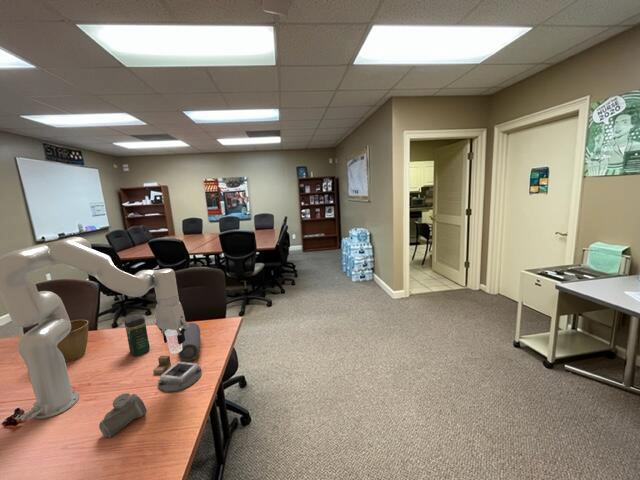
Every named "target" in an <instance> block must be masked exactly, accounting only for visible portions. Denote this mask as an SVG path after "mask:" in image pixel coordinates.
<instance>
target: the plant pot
mask: <svg viewBox="0 0 640 480" xmlns="http://www.w3.org/2000/svg"><path fill="white" fill-rule="evenodd" d="M70 322H71V331H70V333H69V334H68V335H67V336H66V337H65V338H64V339H63V340H62V341H60V342H59V343H58V344H57V348H58V349H59V350H60V351H61V352H62V354H63V356H64V359H65V362H72V361H76V360H78V359H80V358H82V357H83V356H84V355H85V354H86V351H87V347H88V340H89V339H88V338H89V320H86V319H75V320H70Z"/></svg>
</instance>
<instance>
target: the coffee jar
mask: <svg viewBox="0 0 640 480" xmlns="http://www.w3.org/2000/svg"><path fill="white" fill-rule="evenodd" d="M123 321H124V326H125V332H126V337H127V342H128V348H129V353H130V354H131V356H134V357H135V356H141V355H143V354H146V353H147V352H148V351H150V349H151V348H150V341H149V336H148V329H147V324H146V319H145V317H144V316H143V315H141V314H137V313H134V314H131V315H127V316H126V317H125V318H124V320H123Z"/></svg>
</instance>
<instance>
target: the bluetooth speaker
mask: <svg viewBox="0 0 640 480" xmlns="http://www.w3.org/2000/svg"><path fill="white" fill-rule="evenodd" d="M187 323H188V322H187ZM188 324H189V327H188V328H187V330H186V331H185V332H184V335H185V341H184V342H183V343H182V351H181V352H179V353H177V354H178V358H179V359H180V360H181V361H182V362H190V361H193V360H194V359H196V358H197V356H198V354H199V352H200V346H201V338H202V337H201V328H200V326H199V324H197V323H196V322H189V323H188Z"/></svg>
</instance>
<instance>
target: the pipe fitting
mask: <svg viewBox="0 0 640 480" xmlns="http://www.w3.org/2000/svg"><path fill="white" fill-rule="evenodd" d="M112 406H113V408H112V409H111V410H109V411H108V412H107V413H106V414H104V417H103V419H102V420H101V421H99V425H98V427H99V430H100V432H101V434H102V435H103V437H105V438H111V437H113V436H114V435H115V434H116V433H117V434H118V432H119V431H121V430H122V429H123V428H124V427H126V426H127V425H128V424H129V423H130V422H132V421H133V420H134V419H138V418H141V417H143V416H144V415H146V413H147V411H148V410H147V407H146V404H145V403H144V401H143V400H142V399H141V397H140V396H139V395H138V394H135V393H132V394H130V393H129V392H128V393H122V394H120V395H118V396H117V397H115V398H114V400H113V401H112Z"/></svg>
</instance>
